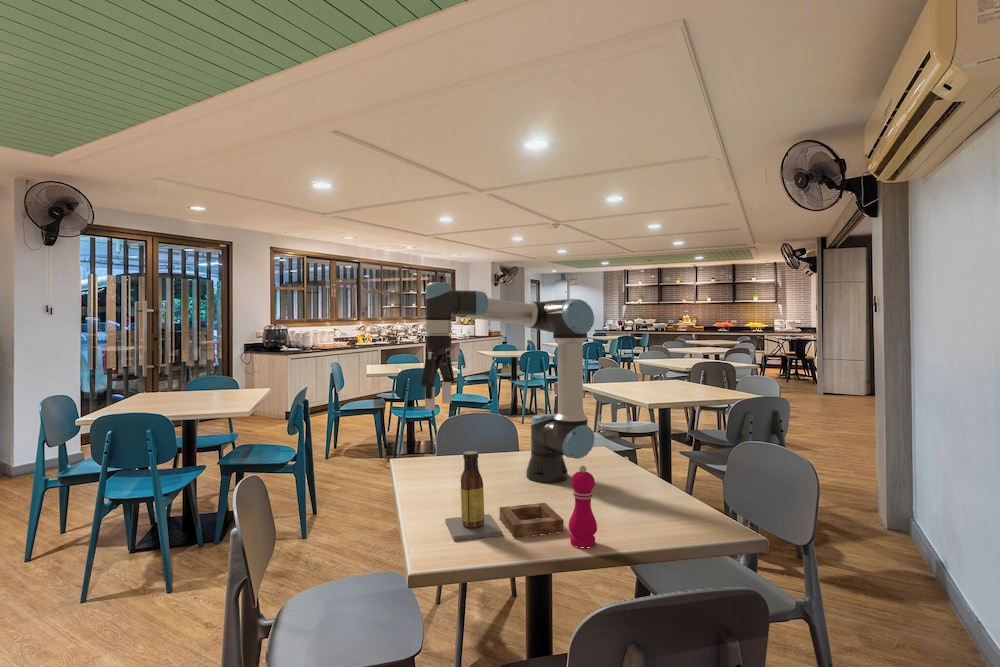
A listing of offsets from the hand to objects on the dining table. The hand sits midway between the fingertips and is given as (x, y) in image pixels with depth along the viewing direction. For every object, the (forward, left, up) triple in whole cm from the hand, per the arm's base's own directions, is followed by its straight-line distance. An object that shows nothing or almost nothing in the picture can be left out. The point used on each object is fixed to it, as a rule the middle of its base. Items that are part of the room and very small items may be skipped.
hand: (438, 406), depth 156 cm
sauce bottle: (-7, +15, -31) cm, 35 cm away
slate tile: (-7, +15, -32) cm, 36 cm away
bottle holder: (-23, +17, -32) cm, 43 cm away
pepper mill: (-32, +32, -32) cm, 55 cm away
